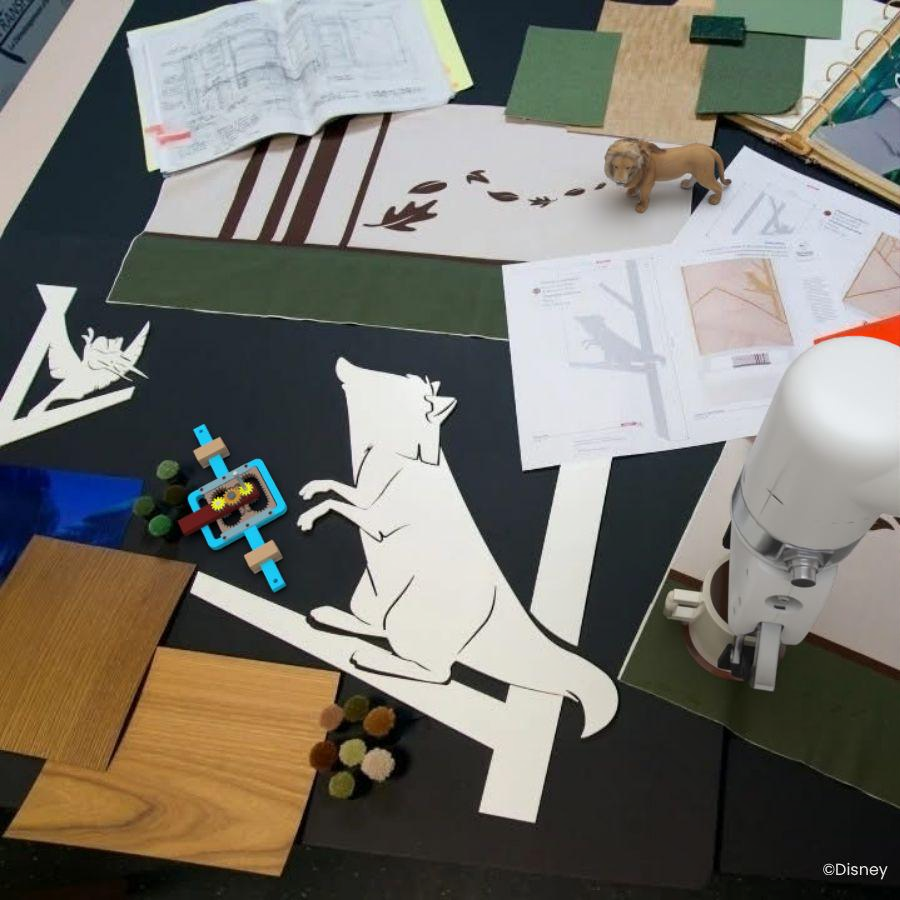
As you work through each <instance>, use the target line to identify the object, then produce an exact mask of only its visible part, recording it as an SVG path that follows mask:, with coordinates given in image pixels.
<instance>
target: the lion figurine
mask: <svg viewBox="0 0 900 900" xmlns="http://www.w3.org/2000/svg"><path fill="white" fill-rule="evenodd" d="M603 159H604V165H603V166H604V167H603V168H604V169H603V172H604V174H605V176H606V178H607V179H609V180H610V181H612V182H613V183H615V184H616V186H617V187H623V188H624V189H626V195H627V196H628V197H635V196H637V194H638V193H639V196H640V199H639V202H637V203H636V204H635V210H636V211H637V212H639V213H644V212H645V211H647V208H648V207H649V203H650V194H651V192H652V189H653V188H654V186H655V183H656V182H657V183H658V182H670V181H675V180H677V179H679V178H682V177H683V176H684V175H686V174H690V175H691V177H690V178H689V179H688V178H683V179H682V180H681V181H680V187H681V188H684V189H690V188H692V187H693V186H694V185H695V184H697V183H698V184H699V185H700V186H702V187H704V188H705V189H706V190H707V189H708V190H709V191H711V192H713V194H712V193H711V194H710V195H709V197H708V198H707V200H708V202H709V203H710V204H712V205H717V204H719V203H720V202H721V200H722V197H723V186H729V185H731V184H732V182H733V181H732V180H731V179H730V178H725V167H724V162H723V159H722V157H721V155H720V154H719V153H718V152H717V151H716V150H715V149H713V148H712V147H711V146H709V145H708V144H704V143H700V142H693V143H688V144H685V145H680V146H676V147H664V148H663V147H662V148H660V146H658V145H657V144H655V143H654V142H650V141H646V140H644V139H638V138H636V137H634V138H632V137H629V138H628V137H627V138H620V139H617V140H615V141H613V143H612V144H610V145H609V147H608V148H607V150H606V153H605V155H604V157H603ZM715 165H716V169H717V173H718V179H719V181H720V182H719V181H718V180H717V178H716V176H715Z"/></svg>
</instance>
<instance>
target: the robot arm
mask: <svg viewBox="0 0 900 900" xmlns="http://www.w3.org/2000/svg"><path fill="white" fill-rule="evenodd" d="M883 514H885V515H888V516H892V517H896V518H900V346H899V345H897V344H894V343H892V342H889V341H887V340H885V339H881V338H876V337H871V336H863V335H846V336H839V337H832V338H830V339H826V340H822V341H820V342H818V343H816V344H814V345H812V346H810V347H808V348H807V349H805V350H804V351H802V352H801V353H800V354H799V355H798V356H797V357H795V359H794V360H793V361H792V362H791V363H790V364H789V365H788V366H787V368H786V370H785V372H784V373H783V375H782V377H781V379H780V381H779V382H778V385H777V388H776V390H775V392H774V395H773V397H772V399H771V402H770V404H769V406H768V409H767V411H766V412H765V415H764V418H763V421H762V423H761V425H760V427H759V430H758V433H757V435H756V436H755V439H754V441H753V444H752V447H751V449H750V450H749V453H748V456H747V458H746V461H745V463H744V464H743V467H742V469H741V472H740V474H739V477H738V479H737V481H736V483H735V486H734V488H733V490H732V493H731V497H730V502H729V515H730V521H729V523H728V525H727V528H726V530H725V532H724V534H723V537H722V539H721V541H722V543H721V545H722V547H723V548H724V549H726V550H729V553H730V562H729V596H728V624H729V628H730V630H731V631H732V632H733V633H734V639H733V644H732V643H730V644H728V645H727V646H726V647H725V649H724V650H723V652H722V654H721V655H720V657H719V659H718V663H717V667H718V668H720V669H725V670H731V677H737V678H739V679H740V678H741V679H743V680H742V682H745V683H748V685H749V687H750V688H751V689H752V690H755V691H762V692H769V693H774V691H775V686H776V680H777V679H776V677H777V668H778V665H777V663H778V662H777V661H779V660H778V659H779V656H778V655H779V653H780V652H779V651H780V650H779V644H780V640H781V642H782V643H783V645H784V644H786V645H789V646H790V645H791V646H796V645H799V644H800V643H802V641H803V640H804V639H805V638H806V637H807V635H808V634H809V633H810V632H811V630H812V628H813V627H814V625H815V623H816V622H817V620H818V619H819V617H820V615H821V613H822V612H823V609H824V608H825V606H826V603H827V602H828V599H829V598H830V595H831V593H832V590H833V587H834V584H835V581H836V577H837V573H838V567H839V564H841V563H842V562H844V561H845V559H847V558H848V557H849V556H850V555H851V553H852V552H853V551H854V550H855V549H856V547H857V546H858V545H859V543H861V541H862V540H863V538H864V537H865V536H866V535H867V533H869V531H870V530H871V528H872V527H873V525H874V524H875V523H876V522H877V521H878V519H880V517H881V516H882V515H883ZM746 636H752V637H756V646H748V645H744V642H745V637H746ZM737 678H736V679H737Z"/></svg>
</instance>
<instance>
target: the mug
mask: <svg viewBox="0 0 900 900" xmlns="http://www.w3.org/2000/svg"><path fill="white" fill-rule="evenodd" d="M729 562H730V552H728V553H726V554H724V555H722V556H720V557H719V558H717V559H716V560H715V561H714V562H713V563H712V564H711V565H710V566H709V568H708V570H707V572H706V573H705V576H704V578H703V580H702V583H701V586H700V588H699V590H700V591H699V590H698V591H695V590H687V589H681V588H673V590H670V591H668V593H667V595H666V599H665V602H664V605H663V608H662V613H663V615H664V616H665V617H666V619H668V620H675V621H681V622H686V621H687V623H688V622H689V623H688V625H689V628H688V630H689V631H688V634H689V636H690V637H689V638H691V642H693V643H692V646H693V647H694V648H695V651H696V652H697V653H698V652H699V653H698V655H700V657H701V656H702V657H703V658H704V659H705V660H706V662H707V663H708V662H709V663H710V664H711V665H713V667H714V668H715V667H717V663H718V659H719V657H720V655H721V654H722V652H723V650H724V649H725V647H726V646H727V645H728V644H730V643H732V644H733V639H734V633H733V632H732V631H731V630H730V628H729V624H728V596H729ZM681 605H684V606H681ZM686 605H687V606H686ZM689 606H690V608H689ZM691 607H693V608H691ZM744 645H748V646H756V637H752V636H746V637H745V642H744ZM782 646H784V644H783V643H782V642H781V640H780V644H779V651H780V649H781V648H782ZM703 658H702V659H703ZM704 659H703V660H704ZM717 668H718V667H717ZM719 669H720V668H719ZM722 670H724V671H725V672H731V670H725V669H721V670H720V671H722Z"/></svg>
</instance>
